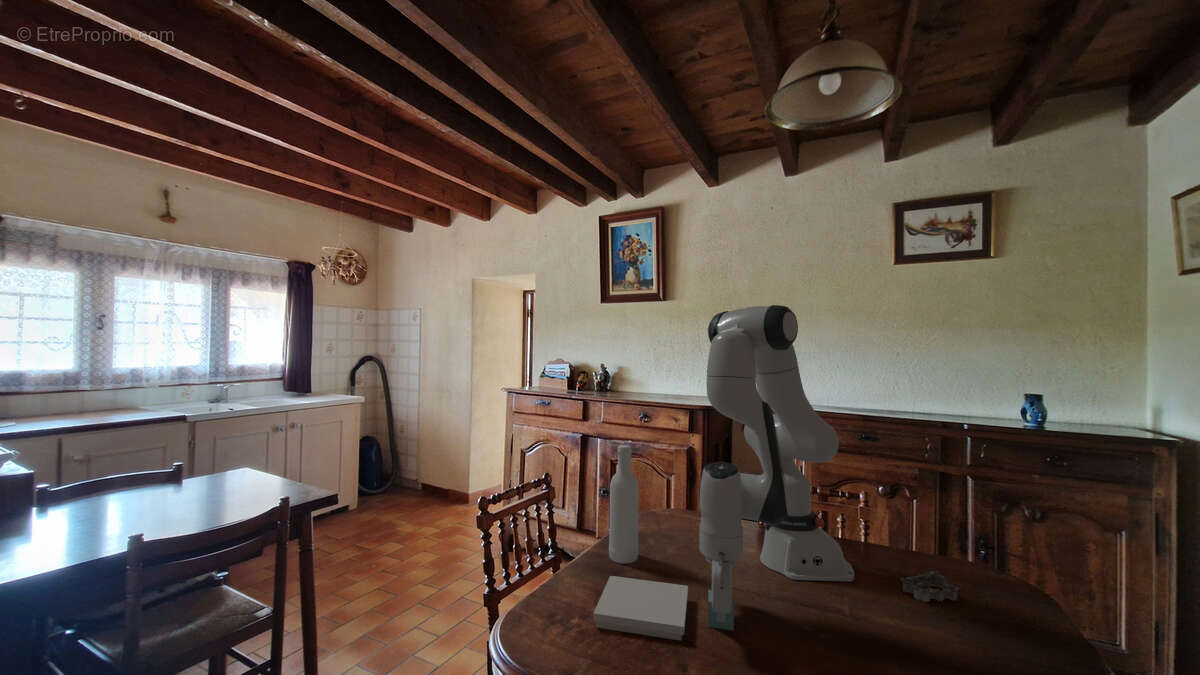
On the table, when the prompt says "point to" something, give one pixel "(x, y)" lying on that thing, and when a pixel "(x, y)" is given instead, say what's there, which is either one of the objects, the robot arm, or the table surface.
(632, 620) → the cream wooden base
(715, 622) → the teal block
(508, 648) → the table surface
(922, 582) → the grey jagged ring
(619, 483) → the bottle
